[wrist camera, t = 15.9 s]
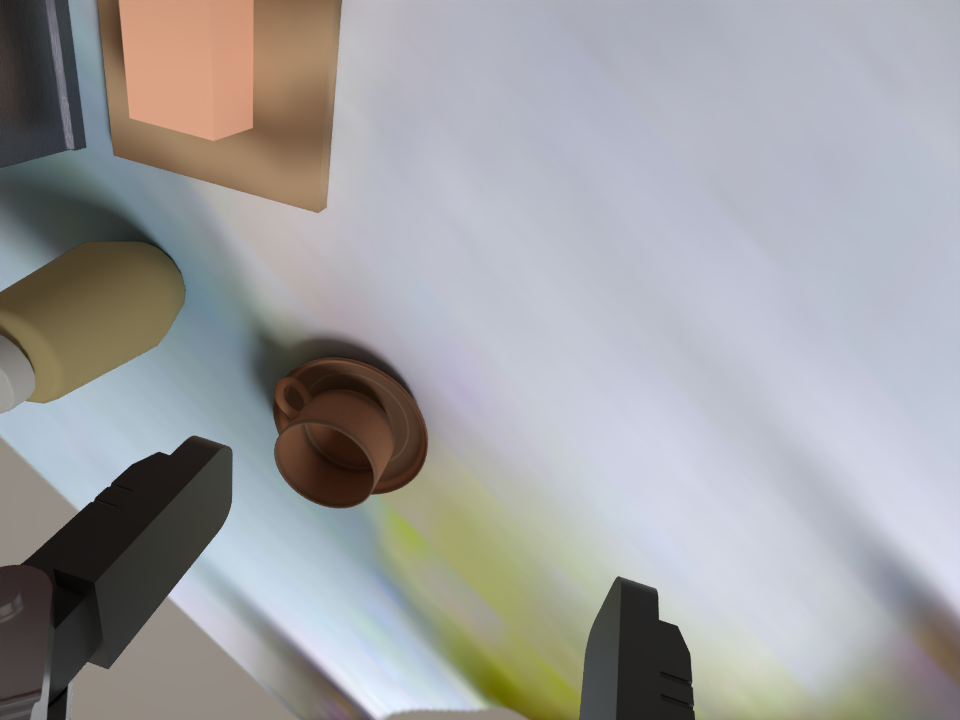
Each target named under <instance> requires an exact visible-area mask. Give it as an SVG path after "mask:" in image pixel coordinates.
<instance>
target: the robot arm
mask: <svg viewBox="0 0 960 720" xmlns="http://www.w3.org/2000/svg"><path fill="white" fill-rule="evenodd" d="M232 456H233V455H232V449H231V448H230V447H229V446H226V445H223V444H220V443H217V442H214V441H211V440H208V439H205V438H201V437H198V436H191V437H189V438H188V439H187V440H186V441H184V442H183V443H182V444H181V445H180V446H179V447H178V448H177V449H176V450H175V451H174V452H173V453H172V454H171V455H167V454H164V453H161V452H157V453H155V454H153V455H151V456H149V457H147V458H145V459H143V460H140V461H138V462H136V463H134V464H132V465H131V466H130V467H129V468H128V469H126V470H125V471H124V472H123V473H122V474H121V475H120V476H119V477H118V478H116V479H115V480H114V481H113V482H112V484H111V486H110V487H107V488H105V489H104V490H103V491H102V492H101V493H100V494H99V495H98V496H97V497H96V498H95V500H94V502H93V503H92V502H90V503H89V504H88V505H87V506H86V507H85V508H83V509H82V510H81V511H80V512H79V513H78V514H77V515H76V516H75V517H74V518H72V519H71V520H70V521H69V522H68V523H67V524H66V525H65V526H64V527H63V528H62V529H60V530H59V531H58V532H57V533H56V534H55V535H54V536H53V537H52V538H50V539H49V540H48V541H47V542H46V543H45V544H44V545H43V546H42V547H41V548H39V549H38V550H37V551H36V552H35V553H34V554H33V555H32V556H31V557H29V558H28V559H27V560H26V561H24V562H23V563H22V564H20V565H8V566H3V567H0V720H71V703H72V689H73V683H72V679H73V678H74V677H75V676H76V675H77V673H78V672H79V671H80V670H81V669H82V667H83V666H84V665H85V664H86V663H87V662H90V663H93V664H95V665H98V666H101V667H103V668H106V669H109V668H110V667H111V665H112V664H113V663H114V662H115V660H116V659H117V658H118V657H119V655H120V654H121V653H122V652H123V650H124V649H125V648H126V646H127V645H128V644H129V643H130V642H131V640H132V639H133V638H134V637H135V635H136V634H137V633H138V632H139V630H140V629H141V628H142V626H143V625H144V624H145V623H146V622H147V620H148V619H149V618H150V617H151V615H152V614H153V613H154V612H155V610H156V609H157V608H158V607H159V605H160V604H161V603H162V602H163V600H164V599H165V598H166V597H167V595H168V594H169V593H170V592H171V590H172V589H173V588H174V587H175V585H176V584H177V583H178V582H179V580H180V579H181V578H182V577H183V575H184V574H185V573H186V572H187V570H188V569H189V568H190V567H191V565H192V564H193V563H194V562H195V560H196V559H197V558H198V557H199V555H200V554H201V553H202V552H203V550H204V549H205V548H206V547H207V545H208V544H209V543H210V542H211V540H212V539H213V538H214V537H215V535H216V534H217V533H218V532H219V530H220V529H221V527H222V526H223V524H224V522H225V521H226V518H227V516H228V514H229V511H230V508H231V503H232ZM691 684H692V671H691V657H690V652H689V650H688V648H687V646H686V643H685V641H684V639H683V637H682V635H681V632H680V630H679V628H678V626H676V625H673V624H670V623H667V622H664V621H661V620H659V607H658V592H657V590H656V589H655V588H652V587H649V586H646V585H643V584H640V583H637V582H634V581H631V580H628V579H625V578H622V577H619V576H618V577H617V578H616V579H615V581H614V583H613V585H612V587H611V589H610V591H609V593H608V595H607V597H606V599H605V601H604V603H603V605H602V607H601V609H600V611H599V613H598V615H597V617H596V619H595V621H594V623H593V626H592V628H591V631H590V634H589V638H588V642H587V647H586V653H585V661H584V673H583V684H582V695H581V706H580V717H579V720H695V714H694V711H693V706H694V700H693V688H692V687H691Z"/></svg>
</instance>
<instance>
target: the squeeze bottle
mask: <svg viewBox="0 0 960 720" xmlns="http://www.w3.org/2000/svg"><path fill="white" fill-rule="evenodd" d="M185 292H186V289H185V286H184V282H183V278H182V275H181V273H180V272H179V270H178V268H177V267H176V265H175V264H174V262H173V261H172V260H171V259H170V258H169V257H168V256H167V255H166V254H165V253H163V252H162V251H161V250H160V249H158V248H156V247H154V246H152V245H150V244H148V243H146V242H136V241H113V242H86V243H84V244H82V245H79V246H77V247H75V248H73V249H71V250H69V251H68V252H66V253H64V254H63V255H61V256H59V257H58V258H56V259H54V260H53V261H51V262H49V263H48V264H46V265H44V266H43V267H41V268H39V269H38V270H36V271H34V272H33V273H31V274H30V275H28V276H26V277H25V278H23V279H21V280H20V281H18V282H16V283H15V284H13V285H11V286H10V287H8V288H6V289H5V290H3V291H1V292H0V414H1V413H4V412H7V411H10V410H11V409H13V408H14V407H16V406H17V405H19V404H20V403H22V402H23V401H29V402H37V403H47V402H50V401H53V400H56V399H59V398H60V397H62V396H64V395H66V394H68V393H70V392H72V391H73V390H75V389H77V388H79V387H81V386H83V385H85V384H87V383H88V382H90V381H92V380H94V379H96V378H98V377H100V376H102V375H103V374H105V373H107V372H109V371H111V370H113V369H115V368H117V367H118V366H120V365H122V364H124V363H126V362H128V361H130V360H131V359H133V358H135V357H137V356H139V355H141V354H143V353H145V352H146V351H148V350H150V349H152V348H154V347H156V346H157V345H158V344H159V343H160V341H161V340H162V339H163V338H164V336H165V335H166V334H167V332H168V330H169V329H170V327H171V325H172V323H173V322H174V320H175V318H176V316H177V315H178V313H179V311H180V309H181V308H182V306H183V304H184V299H185Z"/></svg>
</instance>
